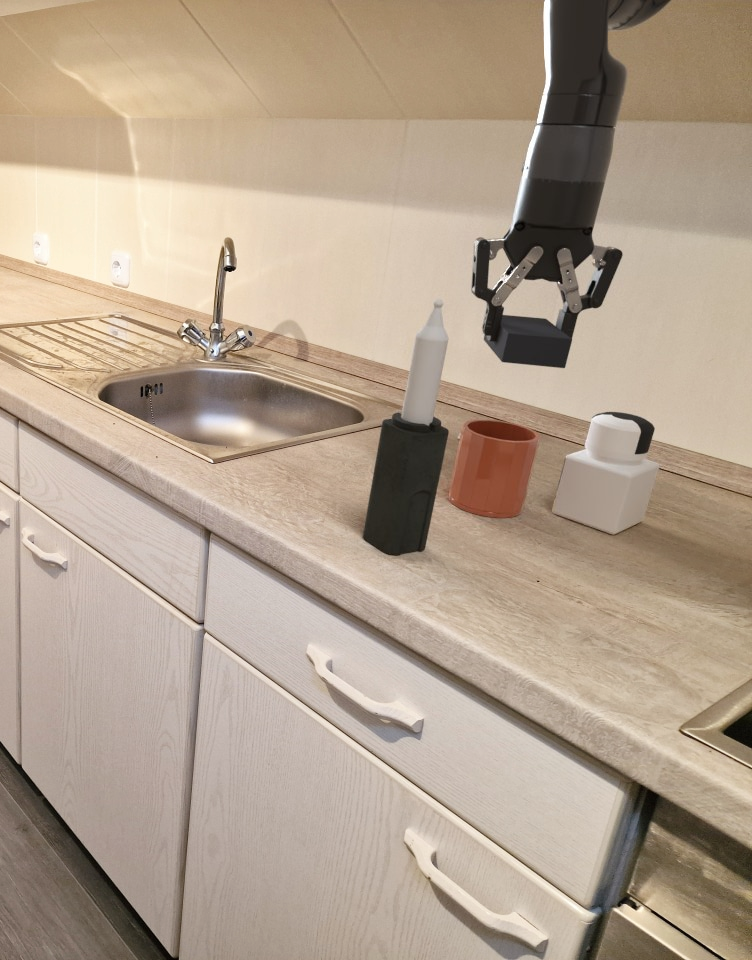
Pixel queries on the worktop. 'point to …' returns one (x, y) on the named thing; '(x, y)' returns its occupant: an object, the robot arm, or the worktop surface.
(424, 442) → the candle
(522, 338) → the dark grey block
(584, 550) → the worktop surface
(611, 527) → the medicine bottle
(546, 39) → the robot arm
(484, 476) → the cup
